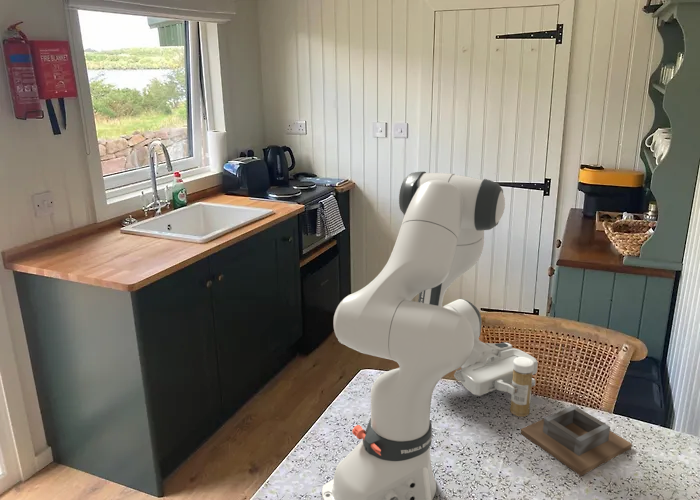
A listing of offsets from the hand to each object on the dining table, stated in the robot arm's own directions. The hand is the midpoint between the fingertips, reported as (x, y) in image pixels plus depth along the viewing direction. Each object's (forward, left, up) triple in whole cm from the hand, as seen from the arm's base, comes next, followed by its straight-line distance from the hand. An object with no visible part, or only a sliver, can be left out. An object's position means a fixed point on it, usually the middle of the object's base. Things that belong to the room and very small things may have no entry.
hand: (524, 387), depth 131 cm
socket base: (+2, -13, -7) cm, 15 cm away
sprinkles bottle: (0, +1, -7) cm, 7 cm away
